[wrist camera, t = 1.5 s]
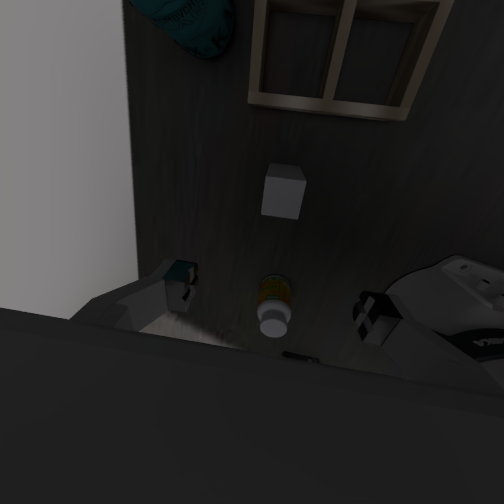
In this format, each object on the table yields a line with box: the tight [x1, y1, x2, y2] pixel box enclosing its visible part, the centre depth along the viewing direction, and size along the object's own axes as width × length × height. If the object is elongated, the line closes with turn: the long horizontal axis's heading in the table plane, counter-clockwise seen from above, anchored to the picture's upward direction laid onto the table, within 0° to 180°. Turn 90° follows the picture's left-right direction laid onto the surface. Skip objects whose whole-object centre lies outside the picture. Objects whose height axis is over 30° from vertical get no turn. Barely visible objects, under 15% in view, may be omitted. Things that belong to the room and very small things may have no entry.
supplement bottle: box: [257, 275, 291, 337], centre depth 35 cm, size 5×5×10 cm
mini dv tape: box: [282, 351, 319, 363], centre depth 46 cm, size 8×2×6 cm, turn 80°
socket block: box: [248, 0, 454, 121], centre depth 20 cm, size 16×12×4 cm
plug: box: [261, 163, 307, 219], centre depth 25 cm, size 4×4×9 cm
